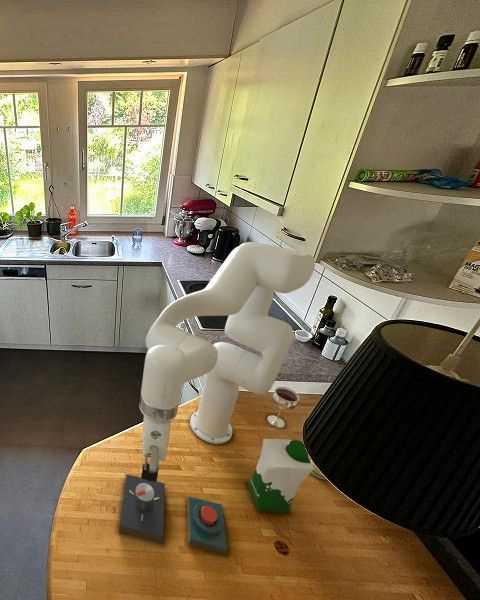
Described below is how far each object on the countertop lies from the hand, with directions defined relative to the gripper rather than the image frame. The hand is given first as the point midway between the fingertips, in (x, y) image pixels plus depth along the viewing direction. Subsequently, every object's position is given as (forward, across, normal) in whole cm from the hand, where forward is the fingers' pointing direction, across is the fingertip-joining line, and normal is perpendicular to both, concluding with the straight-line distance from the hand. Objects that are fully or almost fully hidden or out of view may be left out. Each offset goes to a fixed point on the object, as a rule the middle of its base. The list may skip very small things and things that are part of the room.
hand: (149, 458), depth 73 cm
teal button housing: (+19, -1, -15) cm, 24 cm away
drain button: (+15, -1, -15) cm, 22 cm away
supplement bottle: (+18, +21, -48) cm, 56 cm away
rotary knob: (+16, 0, 0) cm, 16 cm away
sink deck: (+19, 0, 0) cm, 19 cm away
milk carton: (+19, +10, -32) cm, 38 cm away
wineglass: (+18, +37, -42) cm, 59 cm away
